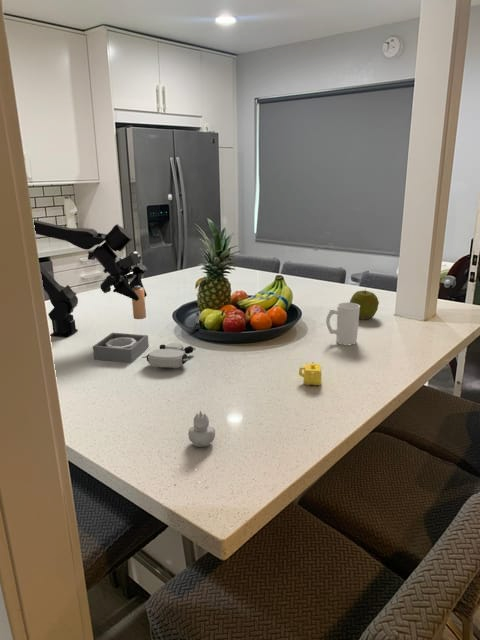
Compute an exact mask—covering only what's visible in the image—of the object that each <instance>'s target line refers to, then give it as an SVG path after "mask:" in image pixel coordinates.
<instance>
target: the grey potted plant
mask: <svg viewBox="0 0 480 640" xmlns="http://www.w3.org/2000/svg"><path fill="white" fill-rule="evenodd" d="M209 421H210V420H209V417H208V415H207V414H206V413H202V411H201V410H200V411H199V414H198V413H196V414H195V415H194V418H193V426H192V427H190V428H189V429H188V433H187V435H188V439H189V441H190V442H191V443H192V446H195V447H197V448H204V447H208V446H209V445H211V444H212V443H213V442H214V440H215V438H216V430H215V428H214V427H213V426H212V427H211V426H210V424H209V423H210V422H209Z"/></svg>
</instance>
